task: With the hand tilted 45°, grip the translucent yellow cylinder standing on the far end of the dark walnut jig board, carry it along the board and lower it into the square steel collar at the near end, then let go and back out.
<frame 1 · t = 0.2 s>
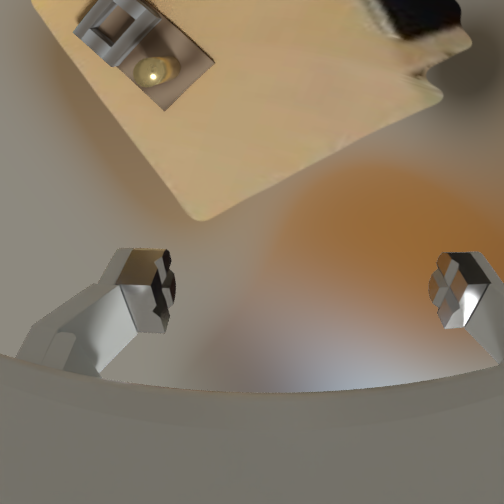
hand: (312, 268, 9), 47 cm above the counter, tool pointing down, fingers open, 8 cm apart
translucent yellow cylinder: (168, 68, 45), point 1 cm above the counter, touching jig
jig: (143, 43, 43), on the counter
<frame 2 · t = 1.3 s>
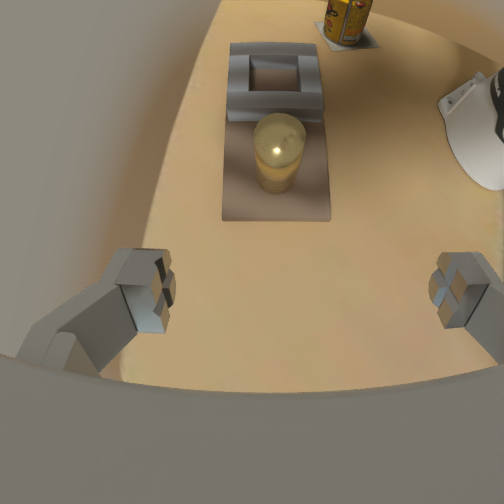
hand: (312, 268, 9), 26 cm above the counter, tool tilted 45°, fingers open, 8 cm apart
translucent yellow cylinder: (276, 176, 35), point 1 cm above the counter, touching jig
condiment: (346, 35, 40), on the counter
jig: (274, 127, 37), on the counter
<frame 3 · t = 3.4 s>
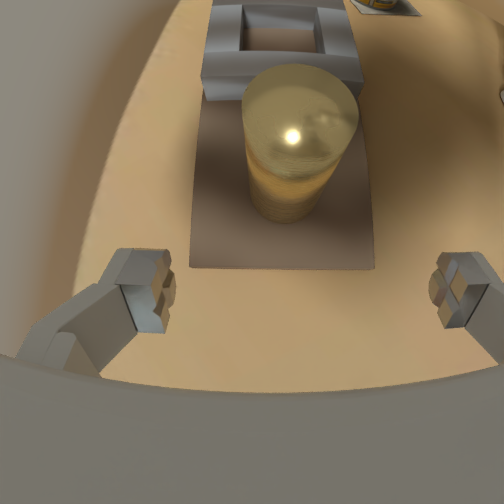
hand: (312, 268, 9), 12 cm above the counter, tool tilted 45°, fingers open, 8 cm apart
translucent yellow cylinder: (283, 191, 21), point 1 cm above the counter, touching jig
jig: (281, 111, 23), on the counter
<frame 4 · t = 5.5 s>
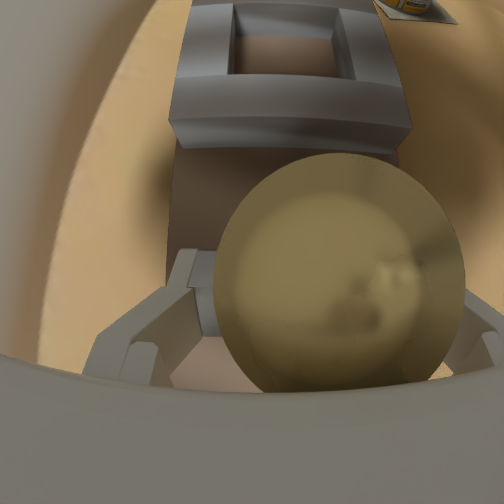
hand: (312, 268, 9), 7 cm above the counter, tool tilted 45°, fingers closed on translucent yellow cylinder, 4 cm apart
translucent yellow cylinder: (292, 294, 15), point 1 cm above the counter, touching gripper, jig
jig: (288, 162, 17), on the counter
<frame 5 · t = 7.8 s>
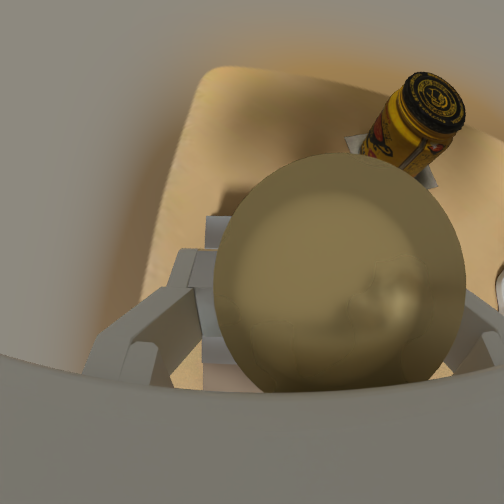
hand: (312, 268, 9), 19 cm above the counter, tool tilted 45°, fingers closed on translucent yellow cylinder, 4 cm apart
translucent yellow cylinder: (292, 294, 15), point 13 cm above the counter, touching gripper
condiment: (391, 163, 29), on the counter
jig: (273, 360, 27), on the counter
when the fingers open (8 cm above the counter, at t = 10.2 s): translucent yellow cylinder drops 1 cm, resting on jig.
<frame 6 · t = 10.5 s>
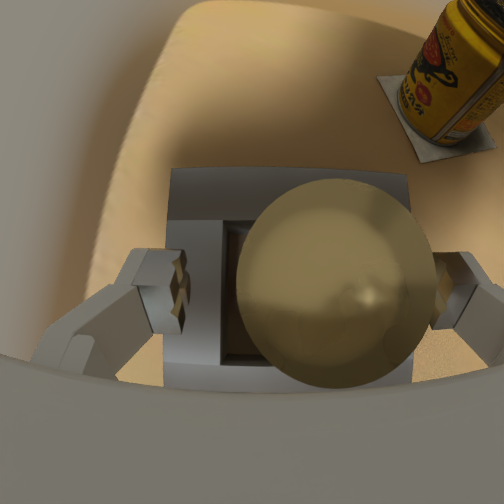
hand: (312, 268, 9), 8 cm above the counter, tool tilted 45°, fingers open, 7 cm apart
translucent yellow cylinder: (290, 294, 16), point 1 cm above the counter, touching jig
condiment: (439, 113, 19), on the counter
jig: (284, 400, 16), on the counter
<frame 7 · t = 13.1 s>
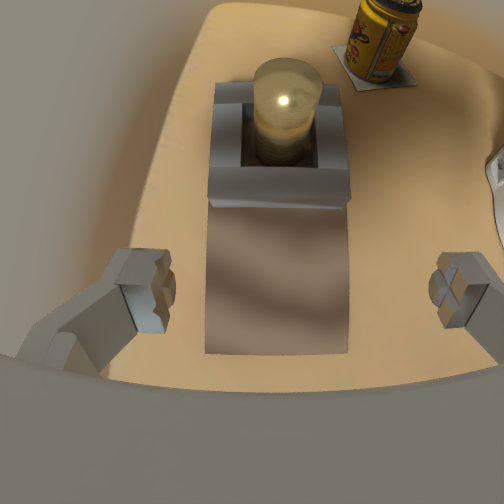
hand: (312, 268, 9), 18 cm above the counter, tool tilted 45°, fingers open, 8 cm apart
translucent yellow cylinder: (278, 148, 28), point 1 cm above the counter, touching jig
condiment: (374, 66, 31), on the counter
jig: (277, 215, 28), on the counter
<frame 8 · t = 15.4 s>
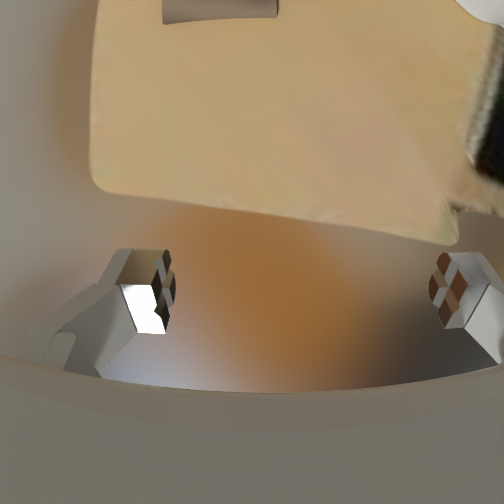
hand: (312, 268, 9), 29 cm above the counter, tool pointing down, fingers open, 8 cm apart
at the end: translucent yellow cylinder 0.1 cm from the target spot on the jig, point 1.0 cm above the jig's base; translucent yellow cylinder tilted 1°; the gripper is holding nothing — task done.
